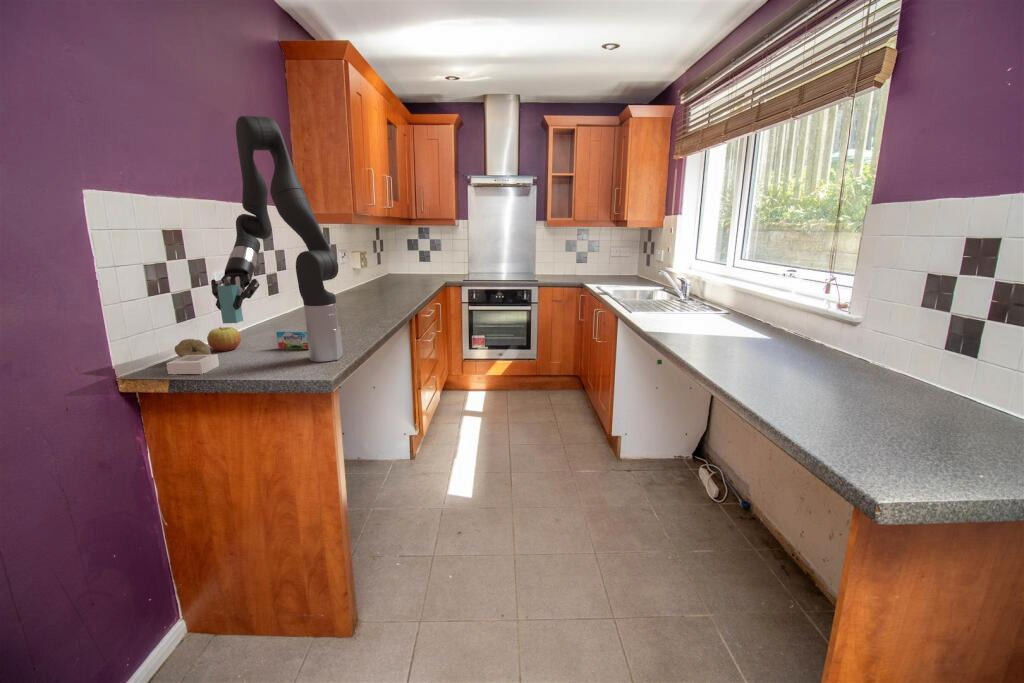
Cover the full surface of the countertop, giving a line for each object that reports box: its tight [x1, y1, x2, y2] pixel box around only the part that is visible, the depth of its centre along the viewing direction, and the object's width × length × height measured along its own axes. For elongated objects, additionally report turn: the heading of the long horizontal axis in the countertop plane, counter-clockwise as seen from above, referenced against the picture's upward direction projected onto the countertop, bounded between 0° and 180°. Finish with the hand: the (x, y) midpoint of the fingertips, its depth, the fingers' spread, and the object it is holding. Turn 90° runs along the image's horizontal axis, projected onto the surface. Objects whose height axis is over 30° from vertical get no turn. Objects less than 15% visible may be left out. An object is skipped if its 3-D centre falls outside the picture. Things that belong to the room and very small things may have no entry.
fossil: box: [174, 338, 212, 358], centre depth 146 cm, size 9×4×10 cm
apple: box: [206, 326, 242, 352], centre depth 159 cm, size 10×10×8 cm
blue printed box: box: [276, 330, 309, 350], centre depth 159 cm, size 12×2×6 cm, turn 83°
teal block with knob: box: [217, 279, 244, 324], centre depth 140 cm, size 4×4×13 cm
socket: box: [166, 353, 220, 375], centre depth 135 cm, size 9×9×4 cm
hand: (227, 308), depth 139 cm, fingers closed on teal block with knob, 4 cm apart
